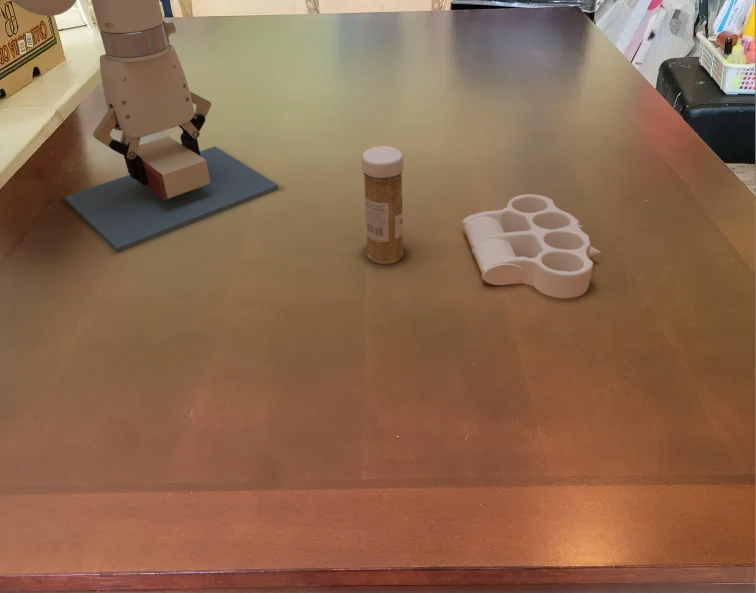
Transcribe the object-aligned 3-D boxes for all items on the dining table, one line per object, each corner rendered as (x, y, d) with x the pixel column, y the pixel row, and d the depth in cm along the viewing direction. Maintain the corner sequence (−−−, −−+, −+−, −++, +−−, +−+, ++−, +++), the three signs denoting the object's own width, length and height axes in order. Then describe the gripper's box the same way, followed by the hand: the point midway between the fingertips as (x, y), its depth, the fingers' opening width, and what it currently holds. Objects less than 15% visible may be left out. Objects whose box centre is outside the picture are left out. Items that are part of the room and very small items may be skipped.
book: (128, 173, 93) (121, 149, 91) (174, 158, 97) (169, 135, 95) (163, 200, 86) (157, 176, 84) (211, 183, 90) (206, 159, 88)
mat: (118, 253, 82) (116, 247, 81) (65, 201, 93) (64, 196, 92) (278, 190, 94) (278, 185, 93) (215, 151, 105) (214, 146, 104)
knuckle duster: (456, 221, 86) (565, 213, 87) (489, 306, 71) (619, 295, 72) (457, 198, 84) (569, 190, 85) (491, 281, 69) (625, 270, 70)
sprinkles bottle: (410, 257, 79) (411, 154, 71) (380, 270, 77) (377, 166, 69) (388, 241, 82) (387, 140, 74) (358, 253, 80) (353, 151, 72)
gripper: (185, 20, 87) (209, 145, 98) (53, 49, 78) (96, 183, 89) (213, 31, 82) (236, 161, 93) (76, 64, 74) (119, 203, 84)
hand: (167, 171), depth 91 cm, fingers closed on book, 7 cm apart
